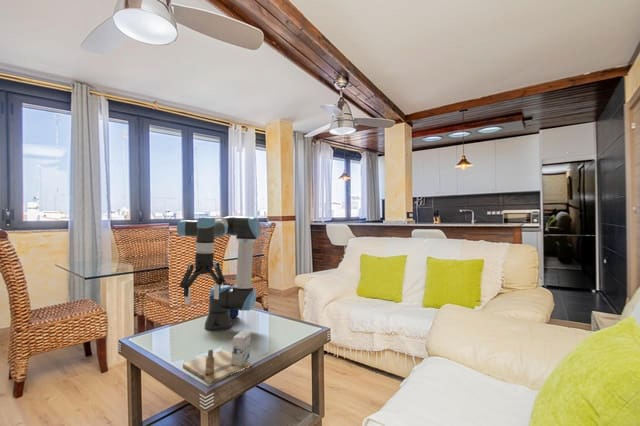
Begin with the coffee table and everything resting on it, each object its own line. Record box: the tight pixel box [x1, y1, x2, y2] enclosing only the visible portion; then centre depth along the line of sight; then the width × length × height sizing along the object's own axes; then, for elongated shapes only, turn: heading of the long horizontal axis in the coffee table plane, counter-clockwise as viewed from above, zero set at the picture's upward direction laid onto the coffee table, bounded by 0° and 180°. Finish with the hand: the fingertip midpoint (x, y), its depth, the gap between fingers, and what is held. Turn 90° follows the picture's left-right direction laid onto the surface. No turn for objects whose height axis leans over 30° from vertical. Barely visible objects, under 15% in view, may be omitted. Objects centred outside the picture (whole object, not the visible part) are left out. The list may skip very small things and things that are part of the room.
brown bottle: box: [205, 349, 214, 375], centre depth 128 cm, size 3×3×9 cm
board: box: [182, 349, 253, 384], centre depth 137 cm, size 20×21×1 cm
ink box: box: [231, 330, 252, 366], centre depth 140 cm, size 9×5×12 cm, turn 168°
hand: (202, 301), depth 139 cm, fingers open, 13 cm apart
